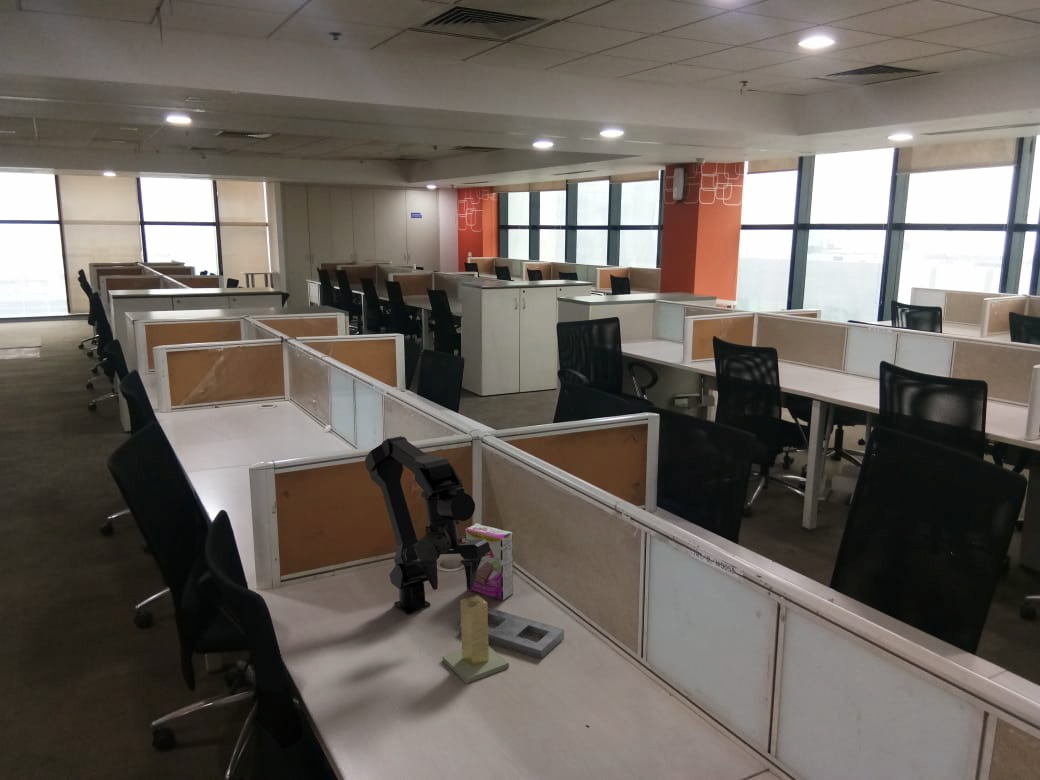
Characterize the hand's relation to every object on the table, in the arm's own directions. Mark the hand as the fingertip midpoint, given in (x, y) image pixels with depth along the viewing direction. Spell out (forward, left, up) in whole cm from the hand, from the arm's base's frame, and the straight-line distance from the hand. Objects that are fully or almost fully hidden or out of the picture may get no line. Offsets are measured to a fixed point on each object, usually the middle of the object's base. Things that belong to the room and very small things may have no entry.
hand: (452, 589), depth 166 cm
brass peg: (+11, -2, -11) cm, 15 cm away
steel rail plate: (+7, +10, -12) cm, 17 cm away
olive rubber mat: (+11, -2, -12) cm, 16 cm away
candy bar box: (-12, +20, -12) cm, 26 cm away
